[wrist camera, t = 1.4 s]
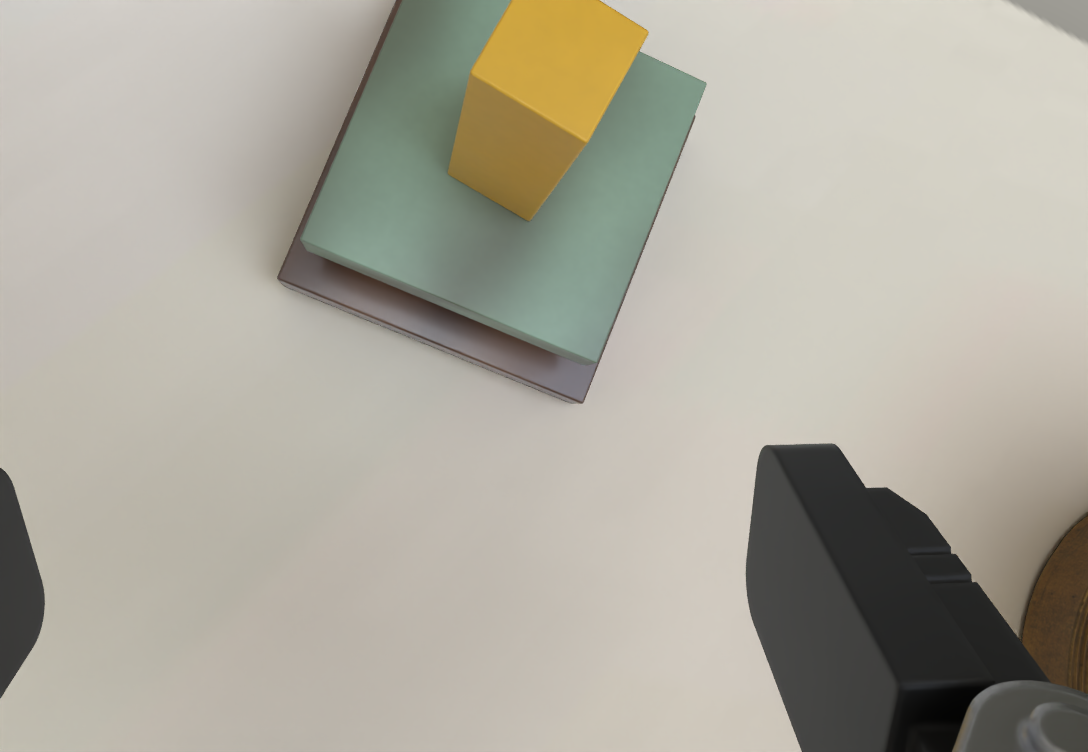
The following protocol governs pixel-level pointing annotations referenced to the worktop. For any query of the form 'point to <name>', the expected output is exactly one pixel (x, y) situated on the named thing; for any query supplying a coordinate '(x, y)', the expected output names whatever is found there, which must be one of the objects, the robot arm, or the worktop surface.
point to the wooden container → (1062, 613)
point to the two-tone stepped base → (484, 210)
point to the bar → (539, 97)
